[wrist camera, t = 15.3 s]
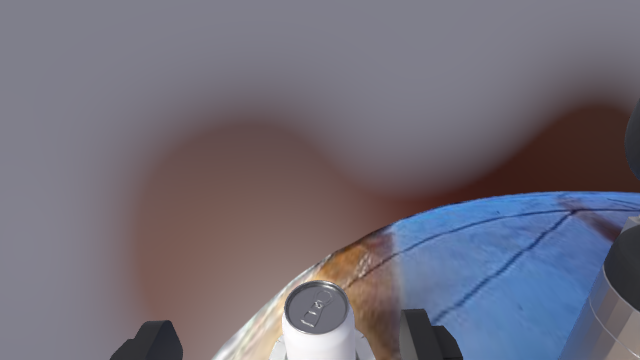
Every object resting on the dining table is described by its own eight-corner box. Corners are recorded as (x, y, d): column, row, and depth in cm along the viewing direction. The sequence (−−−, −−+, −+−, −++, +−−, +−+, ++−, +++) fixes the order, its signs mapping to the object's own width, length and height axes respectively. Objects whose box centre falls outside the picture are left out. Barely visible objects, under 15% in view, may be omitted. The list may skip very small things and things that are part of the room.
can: (365, 370, 33) (365, 290, 28) (339, 435, 28) (333, 352, 23) (313, 346, 36) (304, 268, 30) (281, 400, 31) (263, 319, 26)
